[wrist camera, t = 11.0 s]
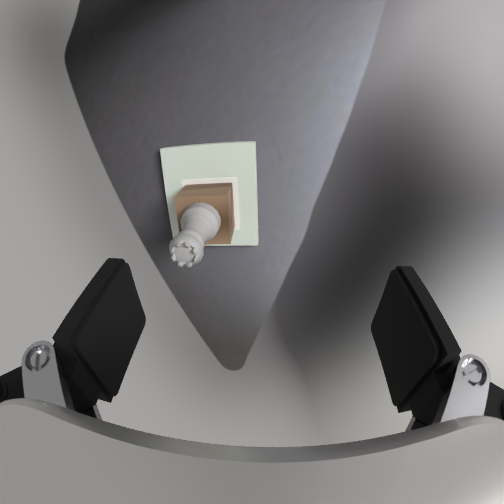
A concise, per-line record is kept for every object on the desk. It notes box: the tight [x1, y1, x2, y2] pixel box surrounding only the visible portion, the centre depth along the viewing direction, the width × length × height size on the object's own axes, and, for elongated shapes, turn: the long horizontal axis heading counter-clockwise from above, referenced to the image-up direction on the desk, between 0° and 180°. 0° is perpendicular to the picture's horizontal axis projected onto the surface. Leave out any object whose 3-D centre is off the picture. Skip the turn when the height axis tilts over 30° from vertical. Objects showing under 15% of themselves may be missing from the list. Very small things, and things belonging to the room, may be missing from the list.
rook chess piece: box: [169, 202, 221, 268], centre depth 27 cm, size 4×4×8 cm
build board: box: [160, 141, 258, 246], centre depth 35 cm, size 14×12×1 cm
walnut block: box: [174, 183, 235, 245], centre depth 33 cm, size 6×6×5 cm
